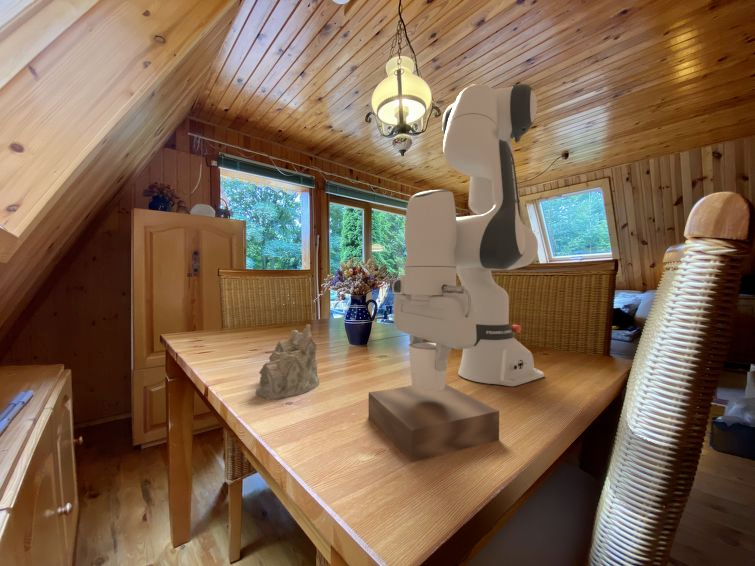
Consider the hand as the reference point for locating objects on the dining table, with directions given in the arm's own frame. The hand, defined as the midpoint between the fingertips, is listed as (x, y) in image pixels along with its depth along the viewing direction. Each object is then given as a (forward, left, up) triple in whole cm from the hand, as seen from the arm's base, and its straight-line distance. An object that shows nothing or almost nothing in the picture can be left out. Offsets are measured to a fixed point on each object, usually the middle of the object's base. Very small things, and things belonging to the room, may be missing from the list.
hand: (428, 365), depth 54 cm
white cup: (0, 0, -4) cm, 4 cm away
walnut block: (0, 0, -11) cm, 11 cm away
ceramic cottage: (+20, -33, -11) cm, 40 cm away
